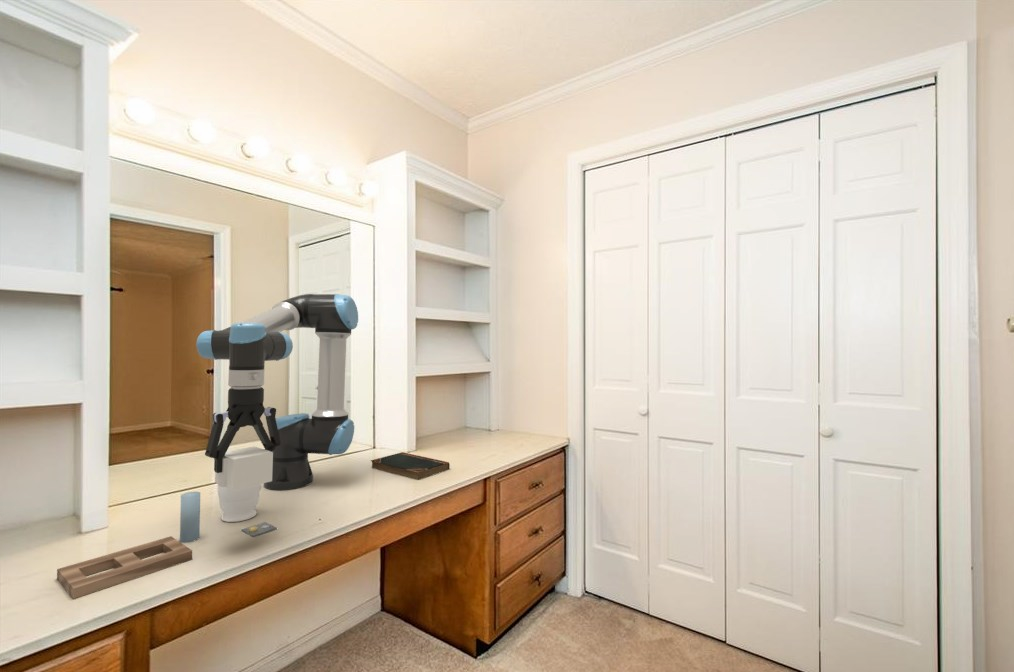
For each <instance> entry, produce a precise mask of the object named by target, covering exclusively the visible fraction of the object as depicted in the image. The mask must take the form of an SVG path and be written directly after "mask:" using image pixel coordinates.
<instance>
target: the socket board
mask: <svg viewBox="0 0 1014 672" xmlns="http://www.w3.org/2000/svg"><path fill="white" fill-rule="evenodd" d="M154 555H156V556H154ZM151 556H152V557H151ZM191 559H192V560H193V550H192V549H191V548H189V547H188V546H187V545H185V544H184V543H183V542H180V540H177V539H176V538H174V537H173V536H171V535H170V536H166V537H164V538H159V539H157V540H153V541H149V542H146V543H143V544H140V545H136V546H132V547H129V548H128V547H127V548H126V549H121V550H119V551H115V552H112V553H111V552H110V553H107V554H105V555H104V554H103V555H102V556H98V557H94V558H90V559H87V560H85V561H80V562H78V563H74V564H71V565H70V564H69V565H66V566H63V567H60V568H57V570H56V580H57V581H58V582H59V583H60V584H61V586H62V587H63V588H64V589H65V591H66V592H67V593H68V595H70V597H71V598H72V599H73V600H74V599H78V598H81V597H83V596H87V595H89V594H93V593H96V592H98V591H101V590H104V589H107V588H111V587H113V586H118V585H119V584H123V583H125V582H129V581H131V580H134V579H136V578H137V579H138V578H141V577H143V576H148V575H150V574H153V573H155V572H158V571H162V570H164V569H167V568H170V567H174V566H176V564H177V565H179V563H180V564H182V563H181V562H183V563H186V562H188V560H189V561H191ZM185 561H186V562H185ZM173 565H174V566H173ZM110 569H111V570H110ZM100 572H101V573H100ZM94 574H95V575H94Z"/></svg>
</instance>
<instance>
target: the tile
mask: <svg viewBox="0 0 1014 672" xmlns="http://www.w3.org/2000/svg"><path fill="white" fill-rule="evenodd" d="M275 530H278V528H277V527H276V526H274V525H272V524H270V523H268V522H266V521H263V522H261V523H258V524H253V525H252V526H248V527H244V528H242V529H241V532H243V533H245V534H247V535H249V536H251V537H252V538H256V537H258V536H261V535H263V534H267V533H269V532H273V531H275Z"/></svg>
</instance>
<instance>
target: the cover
mask: <svg viewBox="0 0 1014 672" xmlns="http://www.w3.org/2000/svg"><path fill="white" fill-rule="evenodd" d="M264 449H265V448H261V447H257V446H249V447H244V448H238V449H231V450H227V452H226V453H225V455H224V457H225V458H227V485H226V488H229V489H231V490H236V489H240V488H245V487H249V486H253V485H258V484H261V485H262V484H264V483H266V482H271V481H272V470H273V452H271V451H267V450H264ZM214 483H216V484H217V485H218V473H216V472H215V471H214Z"/></svg>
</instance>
